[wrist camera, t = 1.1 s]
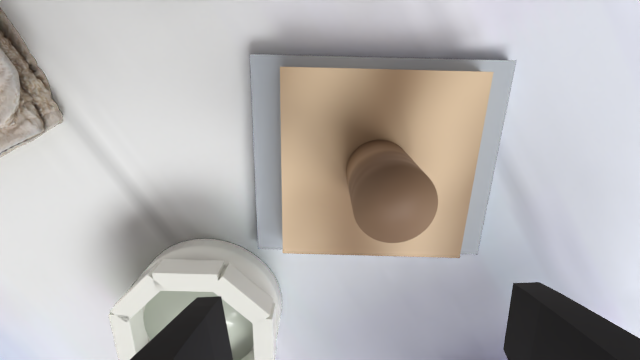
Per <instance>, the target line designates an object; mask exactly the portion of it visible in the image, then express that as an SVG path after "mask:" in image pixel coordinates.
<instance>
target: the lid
mask: <svg viewBox="0 0 640 360" xmlns="http://www.w3.org/2000/svg"><path fill="white" fill-rule="evenodd" d="M493 73H494V72H483V71H444V70H403V69H361V68H320V67H280V110H281V174H282V239H283V253H295V254H333V255H371V256H408V257H446V258H460V253H461V248H462V242H463V237H464V231H465V226H466V220H467V215H468V209H469V204H470V198H471V193H472V187H473V182H474V176H475V171H476V165H477V160H478V155H479V149H480V144H481V138H482V133H483V127H484V122H485V116H486V111H487V105H488V100H489V94H490V89H491V83H492V78H493Z"/></svg>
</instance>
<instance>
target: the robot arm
mask: <svg viewBox="0 0 640 360" xmlns="http://www.w3.org/2000/svg"><path fill="white" fill-rule="evenodd" d="M504 351H505V354H506V356H507V358H508V360H640V338H638V337H636V336H634V335H633V334H631V333H629V332H627V331H626V330H624V329H622V328H620V327H619V326H617V325H615V324H613V323H612V322H610V321H608V320H606V319H605V318H603V317H601V316H599V315H598V314H596V313H594V312H592V311H591V310H589V309H587V308H585V307H584V306H582V305H580V304H578V303H577V302H575V301H573V300H571V299H570V298H568V297H566V296H564V295H562V294H561V293H559V292H557V291H555V290H553V289H551V288H549V287H547V286H545V285H543V284H541V283H539V282H535V283H513V289H512V296H511V302H510V309H509V316H508V322H507V329H506V336H505V342H504ZM130 360H233V356H232V351H231V345H230V340H229V335H228V330H227V324H226V319H225V314H224V309H223V303H222V298H221V296H216V297H197V298H196V299H195V300H194V301H193V302H191V303H190V304H189V305H188V306H187V307H186V308H185V309H184V310H183V311H182V312H180V313H179V314H178V315H177V316H176V317H175V318H174V319H173V320H172V321H171V322H170V323H169V324H168V325H167V326H166V327H165V328H163V329H162V330H161V331H160V332H159V333H158V334H157V335H156V336H155V337H154V338H153V339H152V340H151V341H149V342H148V343H147V344H146V345H145V346H144V347H143V348H142V349H141V350H140V351H139V352H137V353H136V354H135V355H134V356H133V357H132V358H131V359H130Z"/></svg>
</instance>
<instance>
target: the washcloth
mask: <svg viewBox="0 0 640 360" xmlns="http://www.w3.org/2000/svg"><path fill="white" fill-rule="evenodd" d="M62 122H63V118H62V113H61V112H60V111H59V108H58V106H57V103H56V102H54V101H53V100H52V98H51V91H50V87H49V83H48V81H47V78H46V76H45V74H44V73H43V71H42V70H41V69H40V68H39V67H38V66H37V63H36V60H35V58H34V57H33V56H32V55H31V54H30V52H29V50H28V48H27V46H26V44H25V43H24V41H23V39H22V38H21V36H20V34H19V33H18V31H17V30H16V29H15V28H14V26H13V25H12V23H11V22H10V21H9V19H8V18H7V16H6V15H5V13H4V12H3V11H2V9H1V8H0V157H2V156H4V155H6V154H7V153H9V152H10V151H12V150H14V149H16V148H18V147H20V146H22V145H24V144H26V143H28V142H31V141H33V140H34V139H36V138H38V137H39V136H41V135H42V134H44V133H45V132H47V131H48V130H50V129H51V128H53V127H55V126H56V125H57V124H59V123H62Z"/></svg>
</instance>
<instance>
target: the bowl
mask: <svg viewBox="0 0 640 360" xmlns="http://www.w3.org/2000/svg"><path fill="white" fill-rule="evenodd" d="M216 296H221V298H222V303H223V309H224V314H225V319H226V324H227V330H228V335H229V340H230V345H231V351H232V356H233V360H275V356H276V350H277V343H276V339H277V334H278V329H279V323H280V317H281V311H282V295H281V291H280V287H279V284H278V282H277V280H276V278H275V276H274V275H273V273H272V271H271V270H270V269H269V268H268V266H267V265H266V264H265V263H264V262H263V261H262V260H261V259H259V258H258V257H257V256H256V255H254V254H253V253H251V252H250V251H248V250H246V249H245V248H242V247H240V246H238V245H236V244H233V243H230V242H226V241H222V240H217V239H194V240H187V241H184V242H180V243H178V244H175V245H173V246H171V247H169V248H167V249H166V250H164V251H163V252H162V253H160V254H159V255H158V256H157V257H156V258H155V259H154V260H153V262H152V263H151V264H150V265H149V266H148V267H147V268H146V270H145V271H144V272H143V273H142V274H141V275H140V277H139V278H138V279H137V280H136V281H135V282H134V283H133V285H132V287H131V288H130V289H129V290H128V291H127V292H126V293H125V294H124V295H123V296H122V297H121V298H120V299H119V301H118V302H117V303H116V304H115V305H114V306H113V308H112V309H111V310H110V312H111V313H110V314H109V315H108V316H109V320H110V324H111V329H112V333H113V338H114V342H115V347H116V351H117V356H118V360H130V359H131V358H132V357H133V356H134V355H135V354H136V353H137V352H139V351H140V350H141V349H142V348H143V347H144V346H145V345H146V344H147V343H148V342H149V341H151V340H152V339H153V338H154V337H155V336H156V335H157V334H158V333H159V332H160V331H161V330H162V329H163V328H165V327H166V326H167V325H168V324H169V323H170V322H171V321H172V320H173V319H174V318H175V317H176V316H177V315H178V314H179V313H180V312H182V311H183V310H184V309H185V308H186V307H187V306H188V305H189V304H190V303H191V302H193V301H194V300H195V299H196V298H197V297H216Z"/></svg>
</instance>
